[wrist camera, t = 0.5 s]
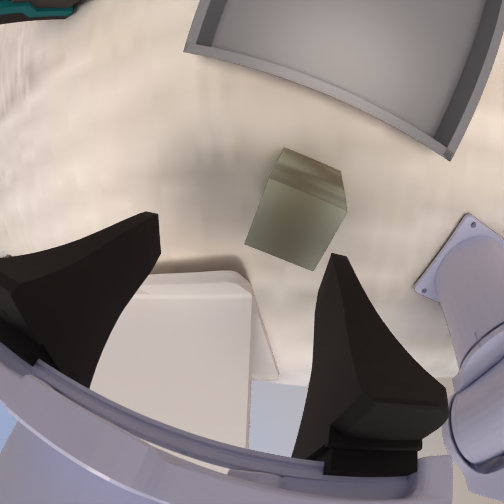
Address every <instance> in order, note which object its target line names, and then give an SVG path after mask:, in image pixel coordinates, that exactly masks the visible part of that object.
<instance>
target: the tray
mask: <svg viewBox="0 0 504 504" xmlns="http://www.w3.org/2000/svg"><path fill="white" fill-rule="evenodd" d="M503 31H504V0H200V2H199V5H198V7H197V10H196V13H195V16H194V19H193V22H192V25H191V28H190V31H189V34H188V38H187V41H186V44H185V48H184V51H183V52H186V53H191V54H196V55H201V56H206V57H211V58H215V59H219V60H224V61H228V62H232V63H235V64H239V65H243V66H246V67H250V68H253V69H257V70H260V71H263V72H267V73H270V74H273V75H276V76H279V77H282V78H285V79H288V80H291V81H293V82H296V83H299V84H302V85H304V86H307V87H309V88H312V89H314V90H317V91H319V92H322V93H324V94H327V95H329V96H331V97H334V98H336V99H338V100H341V101H343V102H345V103H347V104H350V105H352V106H354V107H356V108H358V109H360V110H362V111H364V112H366V113H368V114H370V115H372V116H374V117H376V118H378V119H380V120H382V121H384V122H386V123H388V124H389V125H391V126H393V127H395V128H397V129H398V130H400V131H402V132H404V133H405V134H407V135H409V136H411V137H412V138H414V139H416V140H417V141H419V142H421V143H422V144H424V145H425V146H427V147H429V148H430V149H432V150H433V151H435V152H436V153H438V154H439V155H441V156H442V157H444V158H445V159H447V160H448V161H451V159H452V157H453V156H454V154H455V152H456V150H457V148H458V146H459V144H460V142H461V140H462V138H463V136H464V134H465V131H466V129H467V127H468V125H469V123H470V121H471V119H472V116H473V114H474V112H475V110H476V107H477V105H478V103H479V100H480V98H481V95H482V93H483V90H484V88H485V85H486V83H487V80H488V78H489V75H490V72H491V69H492V66H493V64H494V61H495V58H496V55H497V52H498V48H499V45H500V42H501V38H502V35H503Z"/></svg>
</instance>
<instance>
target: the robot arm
mask: <svg viewBox="0 0 504 504" xmlns="http://www.w3.org/2000/svg"><path fill="white" fill-rule="evenodd" d="M473 222H474V224H473V225H471V224H472V223H473ZM160 254H161V247H160V235H159V220H158V214H156V213H151V212H143V213H140V214H137V215H135V216H132V217H130V218H128V219H125V220H123V221H121V222H119V223H116V224H114V225H112V226H110V227H108V228H105V229H103V230H101V231H98V232H96V233H94V234H91V235H89V236H87V237H84V238H82V239H79V240H76V241H74V242H71V243H68V244H65V245H62V246H59V247H55V248H51V249H48V250H44V251H40V252H36V253H31V254H26V255H20V256H13V257H5V258H0V402H1V403H2V404H3V405H4V406H5V407H6V408H7V411H8V412H9V413H10V414H11V415H12V416H14V417H15V418H16V419H17V420H18V422H17V424H16V426H15V427H14V429H13V431H12V433H11V434H10V436H9V438H8V440H7V442H6V444H5V446H4V447H3V449H2V451H1V453H0V504H452V492H453V491H452V490H453V467H452V459H453V460H454V462H455V463H456V464H457V465H458V466H459V467H460V469H461V470H462V472H463V474H464V476H465V479H466V482H467V486H468V490H469V491H470V492H473V493H475V494H478V495H481V496H484V497H488V498H492V499H496V500H499V501H502V502H504V239H503V238H501V237H500V236H499V235H498V234H496V233H495V232H494V231H492V230H491V229H490V228H489V227H487V226H486V225H485V224H483V223H482V222H480V221H479V220H478V219H476V218H475V217H474V216H472V215H470V214H467V215H465V216H464V217H463V219H462V220H461V222H460V224H459V225H458V227H457V228H456V230H455V231H454V232H453V234H452V235H451V237H450V238H449V240H448V241H447V243H446V244H445V245H444V247H443V248H442V250H441V251H440V252H439V254H438V255H437V256H436V258H435V259H434V260H433V262H432V263H431V264H430V266H429V267H428V268H427V270H426V271H425V272H424V273H423V275H422V276H421V277H420V279H419V280H418V281H417V282H416V284H415V285H414V290H415V292H416V293H419V294H421V295H423V296H425V297H428V298H430V299H432V300H434V301H436V302H439V303H440V304H441V307H442V310H443V313H444V316H445V319H446V322H447V326H448V329H449V332H450V336H451V339H452V343H453V347H454V350H455V354H456V358H457V362H458V367H459V373H458V374H457V375H456V376H455V377H454V378H453V379H452V381H453V386H454V391H455V393H453V394H452V395H451V396H450V397H449V398H448V399H447V392H446V388H445V387H444V386H443V385H442V384H440V383H439V382H438V381H437V380H436V379H435V378H434V377H432V376H431V375H430V374H429V373H428V372H427V371H426V370H424V369H423V368H422V367H421V366H420V365H419V364H418V363H417V362H416V361H415V360H414V359H413V357H412V356H411V355H410V354H409V353H408V352H407V351H406V350H405V349H404V347H403V346H402V345H401V344H400V343H399V342H398V340H397V339H396V338H395V337H394V335H393V334H392V333H391V332H390V330H389V329H388V327H387V326H386V325H385V323H384V322H383V321H382V319H381V318H380V316H379V315H378V313H377V312H376V310H375V308H374V307H373V305H372V304H371V302H370V300H369V299H368V297H367V295H366V293H365V291H364V289H363V288H362V286H361V284H360V282H359V280H358V278H357V276H356V274H355V272H354V270H353V268H352V266H351V264H350V262H349V260H348V258H347V257H346V256H342V255H338V254H334V253H331V256H330V259H329V262H328V265H327V268H326V271H325V274H324V277H323V279H322V282H321V285H320V288H319V291H318V296H317V302H316V309H315V321H314V345H313V363H312V371H311V377H310V382H309V388H308V393H307V398H306V403H305V407H304V412H303V416H302V420H301V424H300V428H299V432H298V436H297V439H296V443H295V446H294V450H293V453H292V457H291V458H290V457H284V456H279V455H274V454H269V453H264V452H259V451H254V450H250V449H246V448H241V447H237V446H234V445H230V444H226V443H222V442H219V441H215V440H212V439H208V438H205V437H202V436H199V435H196V434H193V433H190V432H187V431H184V430H181V429H178V428H175V427H172V426H170V425H167V424H164V423H162V422H159V421H157V420H154V419H152V418H149V417H147V416H144V415H142V414H140V413H137V412H135V411H133V410H131V409H128V408H126V407H124V406H122V405H120V404H118V403H116V402H114V401H111V400H109V399H107V398H105V397H103V396H102V395H100V394H98V393H96V392H94V391H92V390H90V385H91V382H92V379H93V376H94V373H95V370H96V367H97V364H98V362H99V359H100V357H101V354H102V352H103V349H104V347H105V345H106V343H107V340H108V338H109V336H110V334H111V332H112V330H113V328H114V326H115V324H116V322H117V320H118V318H119V317H120V315H121V313H122V312H123V310H124V308H125V307H126V306H127V304H128V303H129V301H130V300H131V299H132V297H133V296H134V294H135V293H136V292H137V290H138V289H139V288H140V286H141V285H142V283H143V282H144V281H145V279H146V278H147V277H148V275H149V274H150V272H151V271H152V269H153V267H154V265H155V264H156V262H157V260H158V258H159V256H160ZM424 288H426V289H424ZM422 289H424V290H422ZM441 426H442V436H443V441H444V444H445V447H446V449H447V451H448V453H449V455H442V456H429V457H423V458H420V459H417V451H420V450H421V449H422V439H423V438H424V437H426V436H428V435H429V434H431V433H432V432H434V431H435V430H437V429H438V428H439V427H441ZM140 438H141V439H143V440H145V441H148V442H150V443H153V444H155V445H157V446H160V447H163V448H165V449H168V450H170V451H173V452H176V453H179V454H182V455H184V456H187V457H190V458H193V459H197V460H200V461H203V462H206V463H210V464H213V465H217V466H220V467H224V468H228V469H231V470H229V471H228V473H227V475H226V474H223V473H220V472H217V471H214V470H211V469H208V468H205V467H202V466H200V465H197V464H194V463H192V462H189V461H187V460H184V459H182V458H179V457H177V456H174V455H172V454H170V453H167V452H165V451H163V450H160V449H158V448H156V447H154V446H151V445H149V444H148V443H146V442H145V441H143V440H141V439H140Z"/></svg>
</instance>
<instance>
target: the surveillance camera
mask: <svg viewBox="0 0 504 504" xmlns="http://www.w3.org/2000/svg"><path fill="white" fill-rule="evenodd" d="M78 1H80V0H0V24H6V23H14V22H22V21H33V20H50V19H65V18H67V17H68V16H69V15H70V14H71V13H72V12H73V4H75V3H77V2H78Z"/></svg>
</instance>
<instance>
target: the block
mask: <svg viewBox="0 0 504 504" xmlns="http://www.w3.org/2000/svg"><path fill="white" fill-rule="evenodd" d="M346 213H347V205H346V199H345V193H344V187H343V182H342V176H341V171H339V170H337V169H334V168H332V167H330V166H328V165H325V164H323V163H321V162H319V161H316V160H314V159H311V158H309V157H307V156H304V155H302V154H299V153H297V152H294V151H292V150H289V149H287V148H284V149H283V151H282V153H281V155H280V157H279V159H278V161H277V163H276V165H275V167H274V169H273V171H272V173H271V175H270V177H269V180H268V182H267V185H266V188H265V190H264V193H263V196H262V198H261V201H260V204H259V206H258V209H257V211H256V214H255V217H254V219H253V222H252V225H251V228H250V230H249V233H248V236H247V238H246V241H245V245H248V246H250V247H253V248H255V249H258V250H260V251H263V252H266V253H268V254H271V255H273V256H276V257H278V258H281V259H283V260H286V261H288V262H291V263H293V264H296V265H298V266H301V267H303V268H306V269H308V270H311V271H314V269H315V268H316V266H317V264H318V263H319V261H320V259H321V257H322V256H323V254H324V252H325V251H326V249H327V247H328V245H329V244H330V242H331V240H332V238H333V237H334V235H335V233H336V231H337V229H338V228H339V226H340V224H341V222H342V220H343V219H344V217H345V215H346Z"/></svg>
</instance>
